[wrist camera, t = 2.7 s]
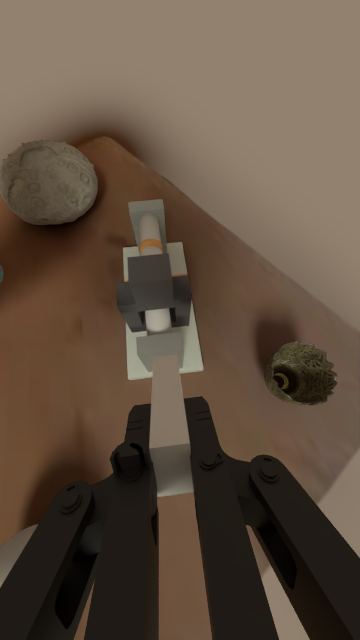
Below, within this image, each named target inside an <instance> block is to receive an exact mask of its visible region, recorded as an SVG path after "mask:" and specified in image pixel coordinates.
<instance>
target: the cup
mask: <svg viewBox="0 0 360 640" xmlns="http://www.w3.org/2000/svg"><path fill="white" fill-rule="evenodd" d="M297 343H298V341H294V342H291V343H286V344H284V345H283V346H281V347H280V348H279V349H278V350H277V352H276V353H275V354H274V355H273V356H272V358H271V359H270V360H269V362H268V363H267V365H266V368H265V373H264V377H265V382H266V385H267V387H268V389H269V390H270V391H271V393H272V394H273V395H275V396H276V397H277V398H279V399H281V400H283V401H285V402H289V403H294V404H303V405H317V404H322V403H326V402H327V397H329V396H332V395H334V393H333V391H330V390H332V389H334V387H335V386H336V385H337V382H336V381H335V379H336V378H337V374H336V373H335V372H333V371H330V370H331V368H332V367H334V364H333V363H330V362H328V361H327V353H326V352H325V351H323V350H320V349H317V348H316V346H315V345H314V344H308V345H303V344H297ZM276 376H280V377H281V378H282V379H283V380H284V385H283V386H282V387H279V386H278V383H277V382H276V380H275V379H274V377H276Z"/></svg>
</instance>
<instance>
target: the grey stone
mask: <svg viewBox="0 0 360 640" xmlns="http://www.w3.org/2000/svg"><path fill="white" fill-rule="evenodd" d="M97 191H98V180H97V176H96V174H95V171H94V165H93V164H91V163H90V162H89V160H88V159H87V158H86V157H85V156H84V155H83V154H82V153H81V152H80V151H79V150H77V149H76V148H75V147H72V146H70V145H67V143H66V142H57V141H44V140H40V141H33V142H29V143H26V144H25V143H22V146H20V147H19V148H18V149H16V150H15V151H14V152H13V153H11V154H9V155H8V158H7V159H3V164H2V166H1V170H0V194H1V196H2V198H3V199H4V201H5V203H6V204H7V206H8V207H9V208H10V210H11V211H12V212H13V213H15V214H16V216H18V217H20V218H21V219H22V220H24V221H26V222H28V223H30V224H35V225H48V224H62V223H64V222H73V221H75V220H76V219H77V218H78V217H80V216H82V215H84V214H85V212H86V211H88V210H89V209H90V208H91V207H92V205H93V204H94V201H95V199H96V195H97Z"/></svg>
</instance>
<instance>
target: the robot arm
mask: <svg viewBox="0 0 360 640" xmlns="http://www.w3.org/2000/svg"><path fill="white" fill-rule="evenodd" d="M3 276H4V272H3V269H2V267H1V265H0V283H1V282H2V280H3ZM110 461H111V464H112V468H113V472H114V473H113V474H111V475H110V476H109V477H108V478H106V479H104V480H102V481H100V482H98V483H96V484H94V485H91V486H89V485H88V483H85V482H83V481H79V482H73V483H71V484H69V485H67V486H66V487H64V488H63V489H62V490H61V491H59V493H58V494H57V495H56V497H55V498H54V499H53V501H52V503H51V504H50V506H49V507H48V509H47V511H46V512H45V514H44V516H43V517H42V519H41V521H40V522H39V524H38V526H37V527H36V529H35V531H34V532H33V534H32V536H31V537H30V539H29V541H28V542H27V544H26V546H25V547H24V549H23V551H22V552H21V554H20V556H19V557H18V559H17V560H16V562H15V564H14V565H13V567H12V569H11V570H10V572H9V574H8V575H7V577H6V579H5V580H4V582H3V584H2V585H1V587H0V640H74V637H75V634H76V631H77V628H78V625H79V622H80V620H81V617H82V614H83V611H84V608H85V605H86V602H87V600H88V597H89V594H90V591H91V588H92V585H93V582H94V580H95V582H94V588H93V593H92V599H91V604H90V610H89V615H88V620H87V626H86V631H85V637H84V640H159V513H158V507H157V494H158V497H161V496H168V495H175V494H182V493H189V492H194V498H195V508H196V518H197V523H198V531H199V539H200V547H201V554H202V562H203V570H204V578H205V586H206V593H207V601H208V609H209V617H210V624H211V632H212V640H279V638H278V634H277V631H276V628H275V624H274V621H273V617H272V614H271V611H270V607H269V604H268V600H267V597H266V593H265V590H264V586H263V583H262V580H261V576H260V573H259V569H258V566H257V562H256V559H255V556H254V552H253V549H252V545H251V542H250V538H249V535H248V532H247V528H246V525H249V526H251V528H252V530H253V532H254V534H255V536H256V538H257V539H258V541H259V543H260V545H261V547H262V549H263V551H264V553H265V555H266V557H267V559H268V560H269V562H270V564H271V566H272V568H273V569H274V572H275V574H276V576H277V578H278V579H279V581H280V583H281V585H282V587H283V589H284V591H285V593H286V595H287V596H288V598H289V601H290V602H291V604H292V606H293V608H294V610H295V612H296V614H297V615H298V618H299V620H300V622H301V623H302V625H303V627H304V629H305V631H306V633H307V635H308V637H309V638H310V640H360V558H359V557H358V556H357V554H356V553H355V552H354V550H353V549H352V548H351V547H350V546H349V544H348V543H347V542H346V541H345V539H344V538H343V537H342V536H341V534H340V533H339V532H338V531H337V530H336V528H335V527H334V526H333V525H332V523H331V522H330V521H329V520H328V518H327V517H326V516H325V515H324V514H323V512H322V511H321V510H320V509H319V507H318V506H317V505H316V504H315V502H314V501H313V500H312V499H311V497H310V496H309V495H308V494H307V493H306V491H305V490H304V489H303V488H302V486H301V485H300V484H299V483H298V481H297V480H296V479H295V478H294V477H293V475H292V474H291V473H290V472H289V470H288V469H287V468H286V467H285V465H284V464H282V463H281V462H280V461H279V460H278V459H276V458H274V457H272V456H269V455H259V456H256V457H255V458H253V459H252V460H251V462H246V461H240V460H236V459H233V458H231V457H229V456H228V455H227V454H226V453H224V451H223V450H222V449H221V447H220V444H219V441H218V437H217V434H216V430H215V427H214V423H213V420H212V416H211V413H210V409H209V406H208V403H207V401H206V400H205V399H204V398H203V397H202V396H201V397H194V398H186V399H183V392H182V385H181V378H180V371H179V365H178V358H177V354H176V355H167V356H159V357H153V377H152V399H151V404H143V405H135V406H134V407H133V408H132V410H131V411H130V413H129V416H128V424H127V428H126V434H125V440H124V442H123V443H122V444H120V445H119V446H117V448H116V449H115V450H114V451H113V452H112V455H111V457H110Z"/></svg>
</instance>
